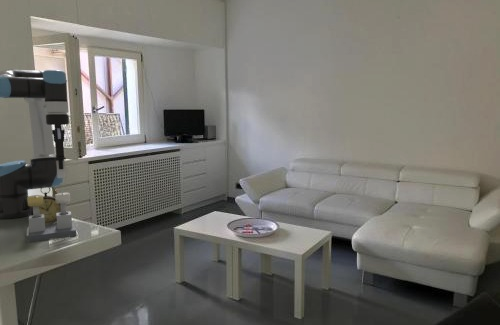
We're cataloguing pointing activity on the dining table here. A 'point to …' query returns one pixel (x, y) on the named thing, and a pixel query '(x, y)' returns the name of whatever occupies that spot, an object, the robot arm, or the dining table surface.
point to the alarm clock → (48, 208)
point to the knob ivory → (62, 201)
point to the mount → (50, 228)
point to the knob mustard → (35, 204)
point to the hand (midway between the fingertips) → (61, 177)
